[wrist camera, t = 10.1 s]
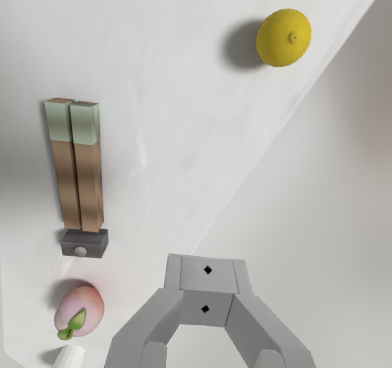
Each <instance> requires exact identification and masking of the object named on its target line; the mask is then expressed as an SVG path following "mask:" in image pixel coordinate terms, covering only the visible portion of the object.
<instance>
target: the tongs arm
mask: <svg viewBox="0 0 392 368" xmlns="http://www.w3.org/2000/svg"><path fill="white" fill-rule="evenodd" d="M70 111H71V121H72V131H73V141H74V146H75V156H76V166H77V176H78V187H79V197H80V207H81V217H82V227H83V231H89V232H98V231H99V229H100V228H101V226H102V224H103V222H104V216H103V195H102V175H101V154H100V124H99V103H91V102H84V101H79V102H76V103H74V104H71V105H70Z"/></svg>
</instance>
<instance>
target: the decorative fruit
mask: <svg viewBox="0 0 392 368" xmlns="http://www.w3.org/2000/svg"><path fill="white" fill-rule="evenodd" d="M103 314H104V302H103V299H102V297H101V295H100V294H99V292H98V291H97V290H96V289H94V288H92V287H89V286H82V287H78V288H75V289H73V290H72V291H70V292H69V293H68V294H66V295H65V296H64V298H63V299H62V301H61V303H60V306H59V307H58V309H57V311H56V313H55V317H54V322H55V327H56V329H57V330H58V331H59V332H58V334H57V335H58V337H59V338H60V339H61V340H69V339H71V338H72V337H80V336H85V335H87V334H89V333H90V332H92V331H93V330H94V329H95V328H96V327H97V326H98V324H99V323H100V321H101V319H102V317H103Z"/></svg>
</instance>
